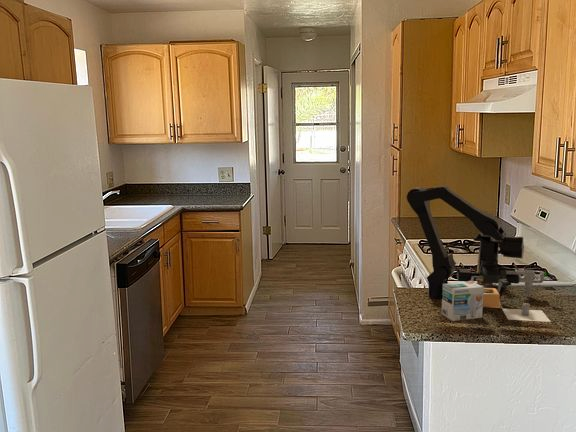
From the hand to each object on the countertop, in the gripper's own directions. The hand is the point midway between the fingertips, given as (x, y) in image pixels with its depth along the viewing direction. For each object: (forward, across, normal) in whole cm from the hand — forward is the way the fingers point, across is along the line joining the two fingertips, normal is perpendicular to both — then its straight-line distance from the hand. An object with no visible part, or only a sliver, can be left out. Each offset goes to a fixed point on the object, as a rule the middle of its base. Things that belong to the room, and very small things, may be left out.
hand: (485, 301), depth 181 cm
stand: (+2, 0, 0) cm, 2 cm away
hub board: (+2, +10, -10) cm, 14 cm away
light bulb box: (+2, -9, -14) cm, 17 cm away
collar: (0, 0, 0) cm, 0 cm away
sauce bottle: (+2, +4, +26) cm, 26 cm away
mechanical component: (+2, +15, +9) cm, 18 cm away
